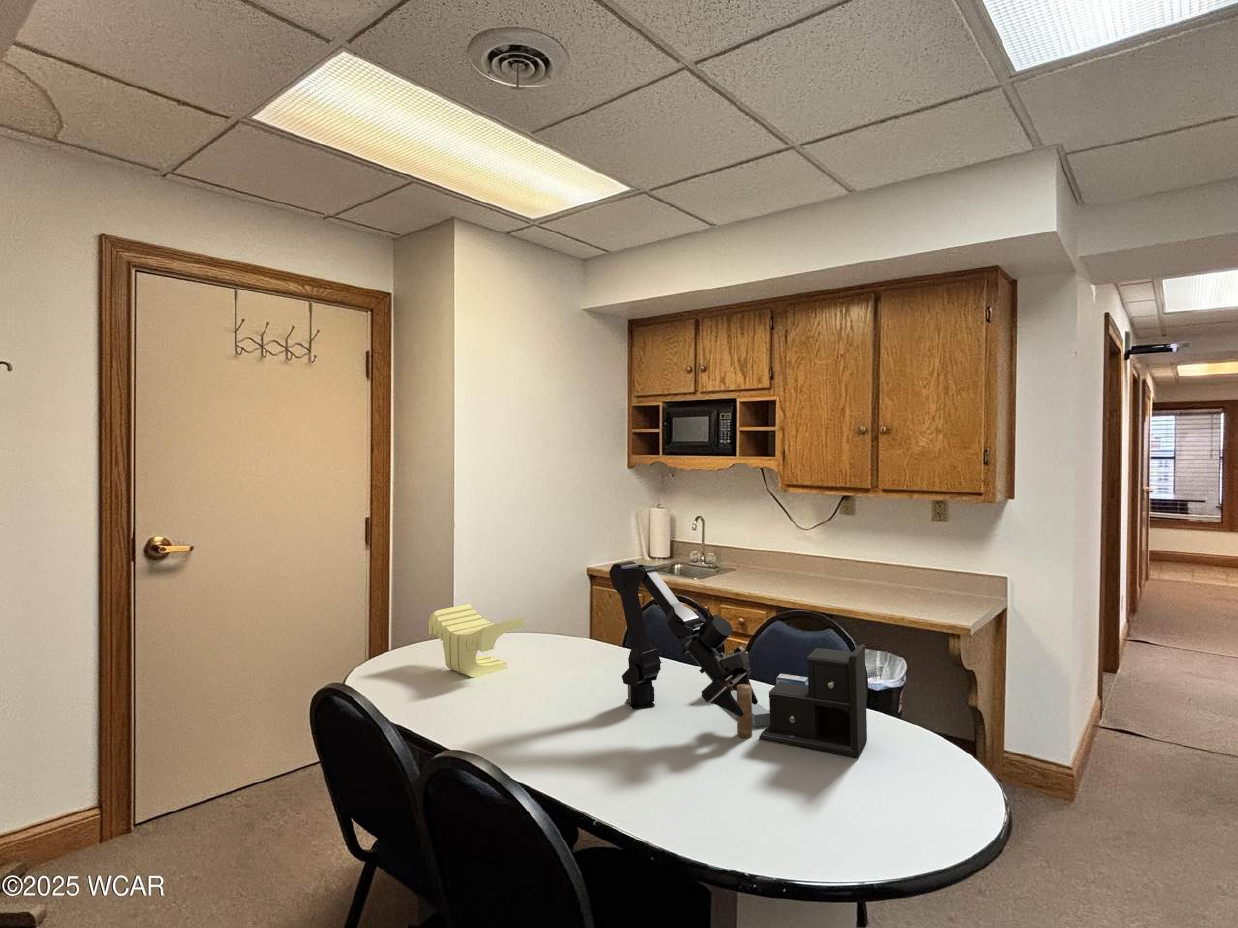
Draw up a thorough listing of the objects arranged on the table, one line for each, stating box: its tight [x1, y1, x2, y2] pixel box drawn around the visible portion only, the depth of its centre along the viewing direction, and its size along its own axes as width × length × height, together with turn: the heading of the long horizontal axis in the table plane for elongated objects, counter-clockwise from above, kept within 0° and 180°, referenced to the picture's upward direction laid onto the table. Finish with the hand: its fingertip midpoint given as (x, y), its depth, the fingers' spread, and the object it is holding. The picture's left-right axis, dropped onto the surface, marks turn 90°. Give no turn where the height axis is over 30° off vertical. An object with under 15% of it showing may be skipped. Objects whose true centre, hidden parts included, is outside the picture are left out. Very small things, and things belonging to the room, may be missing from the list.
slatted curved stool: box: [428, 603, 525, 678], centre depth 229 cm, size 30×16×18 cm, turn 46°
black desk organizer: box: [759, 643, 868, 759], centre depth 170 cm, size 23×11×24 cm, turn 60°
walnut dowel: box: [736, 684, 753, 739], centre depth 174 cm, size 4×4×12 cm
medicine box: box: [775, 673, 808, 685], centre depth 191 cm, size 8×4×9 cm, turn 62°
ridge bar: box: [731, 691, 770, 728], centre depth 188 cm, size 4×18×3 cm, turn 16°
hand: (749, 709), depth 173 cm, fingers open, 9 cm apart
